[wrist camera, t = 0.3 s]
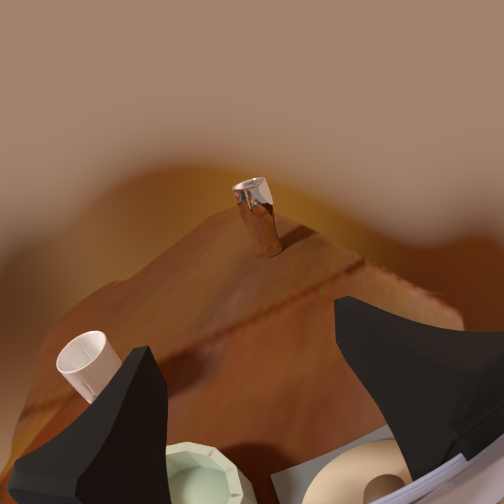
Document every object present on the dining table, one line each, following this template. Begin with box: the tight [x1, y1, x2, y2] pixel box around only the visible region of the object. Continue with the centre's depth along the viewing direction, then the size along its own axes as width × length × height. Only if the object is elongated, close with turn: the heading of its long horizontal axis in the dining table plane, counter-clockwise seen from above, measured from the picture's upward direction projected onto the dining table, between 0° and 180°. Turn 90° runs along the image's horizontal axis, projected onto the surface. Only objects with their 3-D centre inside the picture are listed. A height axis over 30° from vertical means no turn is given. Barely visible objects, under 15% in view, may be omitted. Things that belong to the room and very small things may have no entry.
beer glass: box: [233, 178, 283, 258], centre depth 62 cm, size 7×7×15 cm
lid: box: [302, 440, 413, 504], centre depth 15 cm, size 13×13×5 cm
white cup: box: [57, 331, 123, 404], centre depth 34 cm, size 8×8×10 cm
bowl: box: [166, 442, 257, 504], centre depth 20 cm, size 11×11×4 cm
